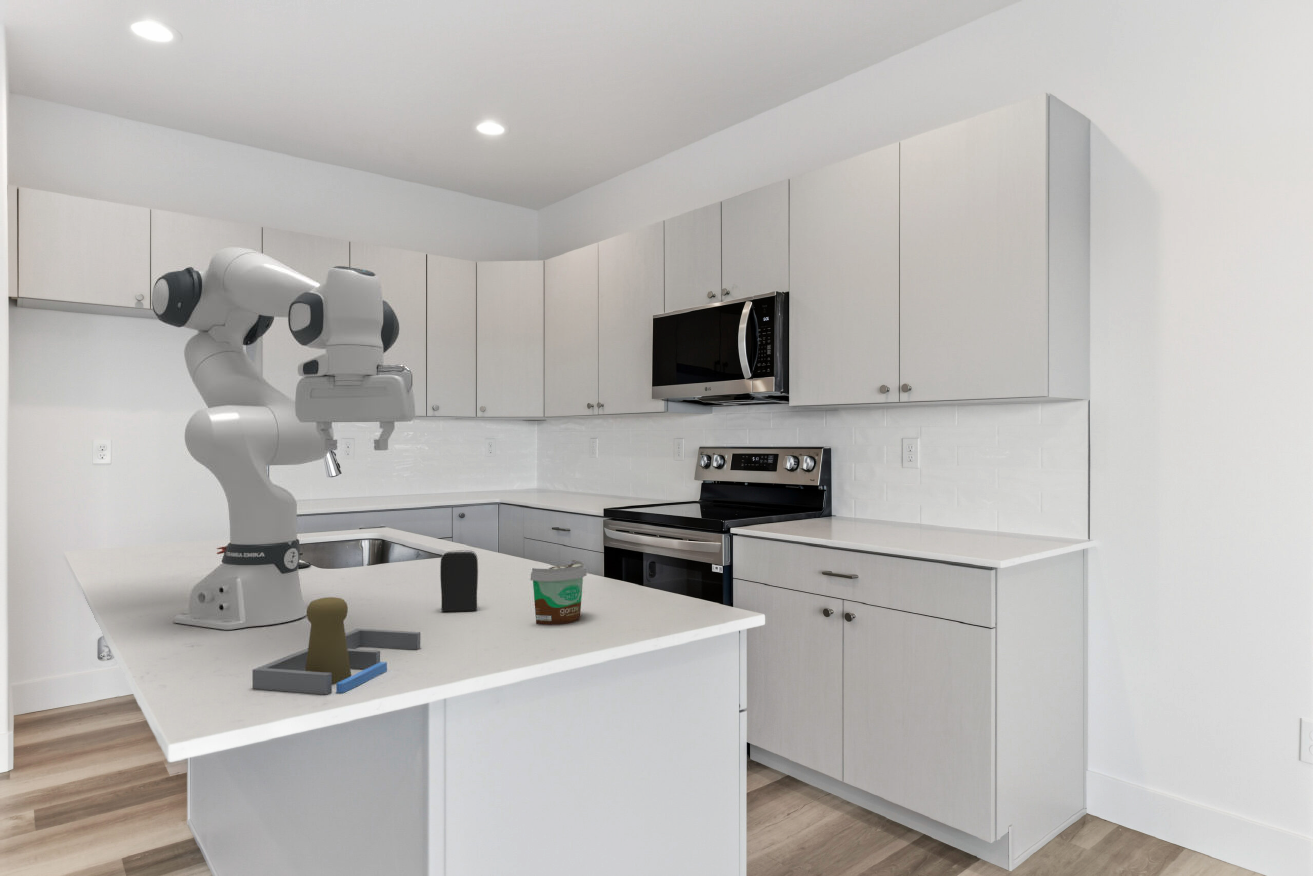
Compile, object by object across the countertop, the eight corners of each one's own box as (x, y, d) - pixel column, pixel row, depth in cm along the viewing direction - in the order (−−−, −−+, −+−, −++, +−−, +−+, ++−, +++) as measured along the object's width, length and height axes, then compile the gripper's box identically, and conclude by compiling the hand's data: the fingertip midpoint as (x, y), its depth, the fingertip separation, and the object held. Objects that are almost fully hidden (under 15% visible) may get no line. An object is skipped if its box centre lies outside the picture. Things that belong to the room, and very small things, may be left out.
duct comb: (252, 688, 105) (252, 669, 105) (357, 644, 127) (357, 628, 127) (338, 695, 102) (338, 676, 102) (430, 648, 124) (430, 632, 124)
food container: (558, 630, 136) (557, 571, 136) (530, 625, 139) (530, 568, 139) (600, 616, 146) (600, 561, 146) (574, 612, 149) (573, 559, 149)
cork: (334, 686, 105) (333, 603, 105) (294, 684, 106) (293, 602, 106) (360, 673, 111) (359, 594, 111) (321, 671, 112) (321, 593, 112)
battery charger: (479, 607, 154) (479, 548, 154) (477, 611, 150) (477, 551, 150) (442, 608, 153) (442, 549, 153) (440, 613, 149) (439, 552, 149)
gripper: (422, 365, 130) (422, 450, 130) (314, 368, 135) (314, 450, 135) (401, 362, 124) (401, 450, 124) (288, 365, 129) (289, 450, 129)
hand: (355, 450), depth 130 cm, fingers open, 8 cm apart
